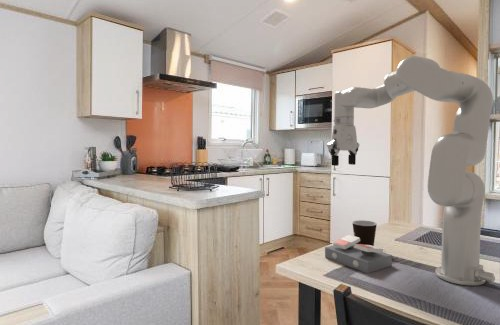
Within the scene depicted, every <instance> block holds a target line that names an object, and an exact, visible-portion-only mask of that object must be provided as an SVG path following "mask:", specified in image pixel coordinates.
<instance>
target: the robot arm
mask: <svg viewBox="0 0 500 325" xmlns="http://www.w3.org/2000/svg"><path fill="white" fill-rule="evenodd" d="M414 91H415V92H416V93H419V94H421V95H422V96H425V97H427V98H429V99H431V100H433V101H436V102H444V103H453V104H458V109H457V110H456V113H455V115H454V119H453V128H452V132H451V133H447V134H444V135H443V136H441V137H439V138H438V139H437V140H436V141H435V142H434V145H433V147H432V149H431V155H430V163H429V170H428V177H427V193H428V196H429V198H430V199H431V200H432V201H433V203H434V204H436V205H437V206H441V207H443V213H442V223H441V224H442V226H441V227H442V228H441V258H440V260H441V262H440V264H441V266H438V267H436V268H435V273H434V274H435V275H436V276H437V277H438V278H439V279H441V280H443V281H446V282H449V283H452V284H457V285H461V286H470V287H471V286H481V285H484V284H486V282H489V283H495V280H496V276H495V274H494V273H493V272H489V271H485V269H484V265H483V264H480V255H481V254H480V252H481V228H482V210H483V204H484V200H485V194H486V187H485V184H484V181H483V179H482V178H481V177H480V175H478V174H476V173H474V172H472V171H470V170H467V168H469V167H474V166H477V165H479V164H480V163H482V161H483V160H484V159H485V155H486V152H487V145H488V144H487V143H488V137H489V130H490V121H491V114H492V113H491V112H492V107H493V101H494V100H493V98H494V96H493V93H492V90H491V88H490V86H489V85H488V84H487V83H486V82H485V81H484V80H482V79H480V78H479V77H476V76H474V75H472V74H468V73H463V72H455V71H451V70H447V69H444V68H442V67H440V64H439V63H438V62H437V61H435V60H433V59H431V58H429V57H428V58H427V57H422V56H418V55H410V56H408V57H405V58H404V59H403V60H401V61H400V62H399V63H398V66H397V67H396V69H395V70H394V71H391V72H388V73H387V74H386V75H385V77H384V79H383V84H382V85H380V86H377V87H374V88H369V87H368V88H366V87H360V86H359V87H358V86H357V87H356V86H354V87H353V86H352V87H350V88H348V89H345V90H343V89H342V90H338V91H336V92H335V93H334V111H333V112H334V117H333V122H334V124H333V127H332V134H331V141H330V142H328V143H327V145H326V146H327V149H328V152H329V153H330V156H331V166H334V167H335V166H339V159H340V158H339V155H338V154H339V153H340V152H341V151H347V152H348V153H349V154H348V159H347V160H348V165H350V166H351V165H352V166H353V165H356V156H357V155H358V153H357V152H358V151H359V148H360V143H359V142H358V139H357V138H358V137H357V128H356V125H355V108H357V109H374V108H378V107H381V106H384V105H387V104H389V103H392V102H393V101H395V99H396V98H398V97H400V96H403V95H406V94H409V93H412V92H414Z"/></svg>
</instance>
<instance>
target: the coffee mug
mask: <svg viewBox="0 0 500 325" xmlns="http://www.w3.org/2000/svg"><path fill="white" fill-rule="evenodd" d="M377 226H378V225H377V222H376V221H370V220H365V219H364V220H363V219H362V220H360V219H359V220H353V221H352V228H353V229H352V230H353V236H355V237H359V238H360V241H359V242H358V243H356V244H363V245H372V246H374V245H375V238H376V232H377Z"/></svg>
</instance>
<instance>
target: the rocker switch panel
mask: <svg viewBox="0 0 500 325" xmlns="http://www.w3.org/2000/svg"><path fill="white" fill-rule="evenodd" d="M354 246H355V244H354V245H352V246H350V247H349V248H347V249H345V250H344V249H341V248H338V247H335V246H334V245H330V246H329V245H328V246H326V247H324V258H327V259H328V260H332V261H334V262H337V263H340V264H342V265H345V266H347V267H350V268H352V269H355V270H357V271H360V272H362V273H365V274H370V273H374V272H376V271H379V270H382V269H386V268H389V267H392V266H393V265H392V264H393V262H392V261H393V255H392V254H390V253H387V252H383V253H380V252H366V251H363V250H360V249H356V248H354Z"/></svg>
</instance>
